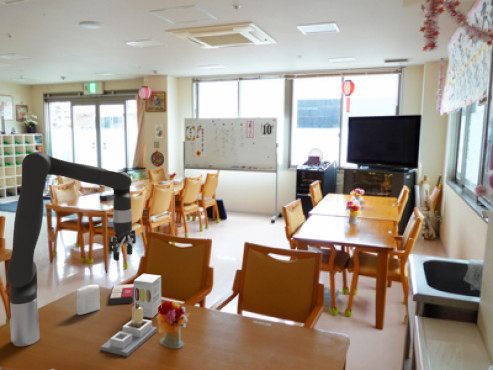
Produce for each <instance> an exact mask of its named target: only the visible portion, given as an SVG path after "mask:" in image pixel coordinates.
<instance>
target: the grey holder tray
mask: <svg viewBox="0 0 493 370" xmlns="http://www.w3.org/2000/svg"><path fill="white" fill-rule="evenodd" d="M157 331H158V327H157V326H153V320H149V319H144V318H143V326H142V327H141V328H135V327H132V319H131V320H130V321H128V322H127V323H126V324H124V325H122V330H121V331H120V330H119V331H118V332H117V333H116V334H114V335H113V336H112V337H110V338H109V339H108V340H107V341H106V342H105V343H104V344H102V345H100V351H104V352H107V353H110V354H111V353H112V354H116V355H120V356H123V357H129V356H130V355H131V354H132V353H133V352H134V351H136V350H137V349H138V348H139V347H140V346H141V345H143V344H144V343H145V342H146V341H147V340H148V339H150V338H151V337H152V336H153V335H154V334H155V333H156V332H157Z"/></svg>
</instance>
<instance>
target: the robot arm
mask: <svg viewBox="0 0 493 370" xmlns="http://www.w3.org/2000/svg"><path fill="white" fill-rule="evenodd" d="M47 176H59V177H65V178H69V179H72V180H75V181H78V182H82V183H86V184H91V185H98V186H104V187H107V188H110V189H112V191H113V205H112V206H113V211H112V212H113V213H112V224H113V225H112V228H113V229H112V230H113V232H114V233H115V235H114V236H109V239H108V240H109V241H108V243H109V244H108V251H109V252H112V253H113V254H112V255H113V256H112V257H113V258H112V259H113V260H114V261H116V262H118V261H120V249H121V248H122V247H123V245H124V244H126V254H127V255H128V256H131V255H132V254H133V246H134V244H136V242H137V238H136V237H137V236H136V230H135V229H133V214H132V212H133V211H132V197H131V185H132V178H131V176H130V174H128V173H127V172H125V171H112V170H108V169H106V168H103V167H98V166H93V165H89V164H82V163H77V162H72V161H67V160H63V159H59V158H56V157H54V156H52V155H48V154H46V153H43V152H41V151H33V152H30V153H29V154H27V155H25V157H23V158H22V161H21V187H20V192H19V196H18V199H17V203H16V210H15V215H14V223H13V234H12V235H13V236H12V250H11V255H10V260H9V264H8V267H7V270H6V274H5V275H6V280H7V282H8V283H9V284H10V290H9V291H10V292H9V307H10V318H9V328H10V330H9V331H10V341H11V343H12V344H13V346H15V347H26V346H30V345H33V344H35V343H36V342H38V341H39V340H40V336H41V335H40V320H39V307H38V272H37V271H38V269H37V268H38V267H37V265H36V262H35V261H34V260H35V256H34V255H35V250H36V246H37V244H38V240H39V237H40V235H41V230H42V225H43V220H44V219H43V217H44V211H45V210H44V207H45V206H44V188H45V183H46V181H47Z"/></svg>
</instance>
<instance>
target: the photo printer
mask: <svg viewBox="0 0 493 370" xmlns="http://www.w3.org/2000/svg"><path fill="white" fill-rule="evenodd" d="M100 291H101V290H100V286H99V285H98V284H87V285H85V286H82V287H79V288H78V289H77V290H76V314H77V315H78V316H81V315H85V314H89V313H92V312H96V311H98V310H99V311H100V310H101V302H100V301H101V298H100Z"/></svg>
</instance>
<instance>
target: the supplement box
mask: <svg viewBox="0 0 493 370" xmlns="http://www.w3.org/2000/svg"><path fill="white" fill-rule="evenodd" d="M133 284H134V299H133V304H134V305H133V306H135V303H136V302H139V305H141V306H143V318H145V317H146V318H149V319H153V318H154V317H155V316H156V315H157V314H158V313H159V312H158V307H159V306H160V305H161V306H162V275H157V274H148V273H142V274H141V275H139V276H138V277H137V278H135V279H134V280H133Z"/></svg>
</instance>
